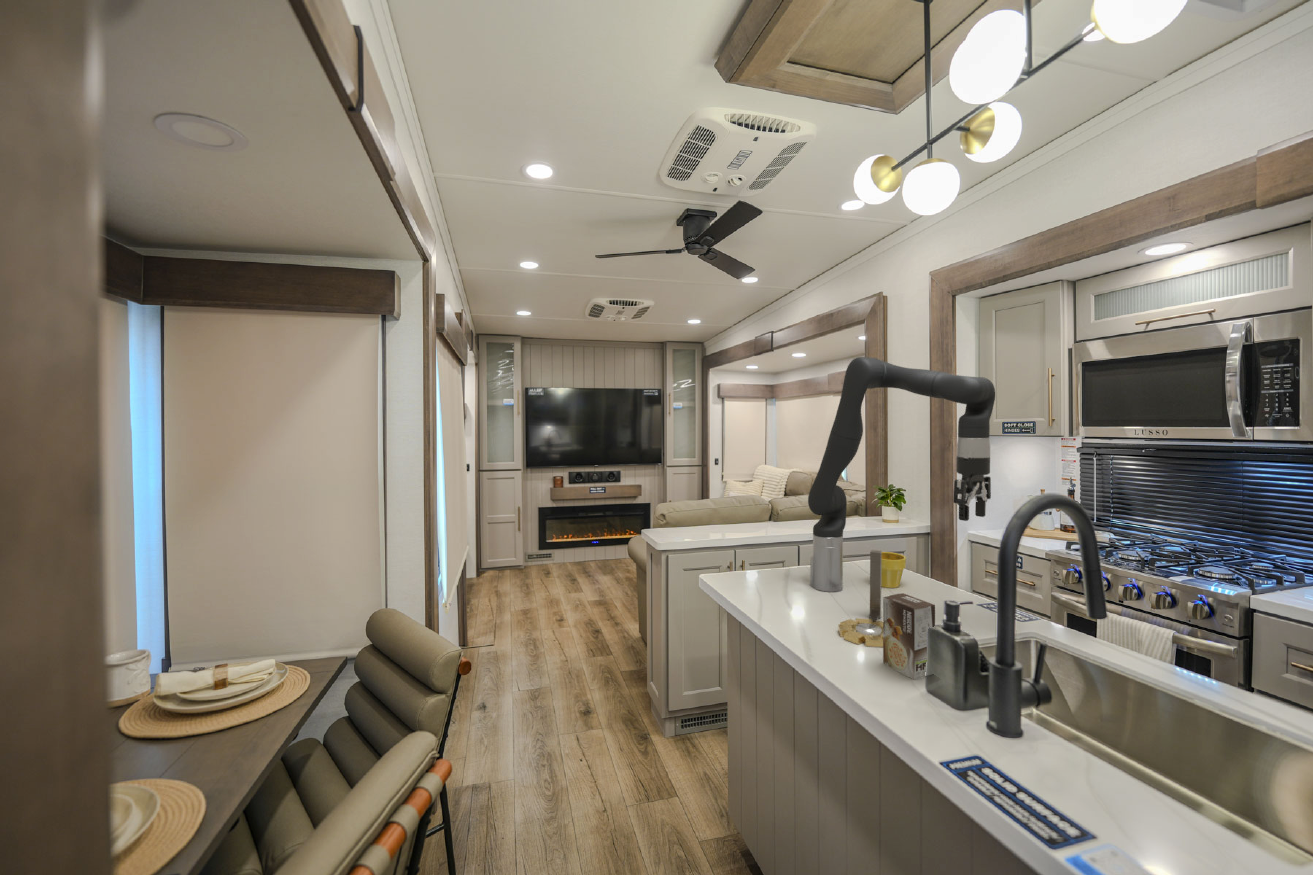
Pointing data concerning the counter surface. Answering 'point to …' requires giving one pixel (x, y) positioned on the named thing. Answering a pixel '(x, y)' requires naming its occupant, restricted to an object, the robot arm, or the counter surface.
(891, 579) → the plant pot
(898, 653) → the coffee box
